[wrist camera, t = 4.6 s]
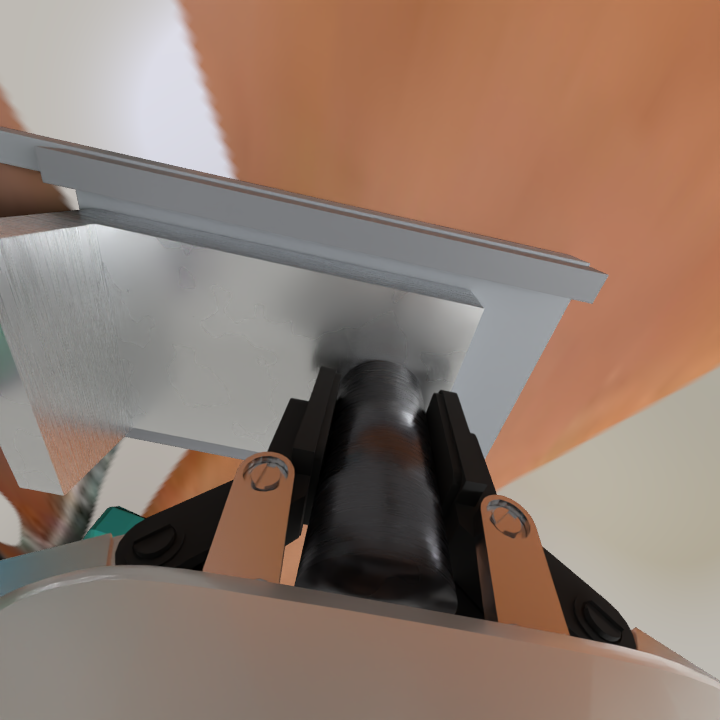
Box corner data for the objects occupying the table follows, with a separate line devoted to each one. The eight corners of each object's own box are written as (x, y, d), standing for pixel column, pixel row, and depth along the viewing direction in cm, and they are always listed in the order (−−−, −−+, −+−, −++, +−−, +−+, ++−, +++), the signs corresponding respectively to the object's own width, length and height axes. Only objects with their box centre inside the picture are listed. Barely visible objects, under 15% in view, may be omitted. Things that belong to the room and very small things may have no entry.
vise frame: (-147, 93, 12) (-885, -26, 5) (569, 255, 13) (783, 343, 6) (-25, 368, 18) (-288, 489, 11) (463, 465, 19) (509, 634, 12)
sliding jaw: (96, 208, 12) (-475, 265, 4) (470, 290, 12) (618, 484, 4) (130, 394, 16) (-119, 603, 8) (410, 450, 16) (432, 699, 9)
